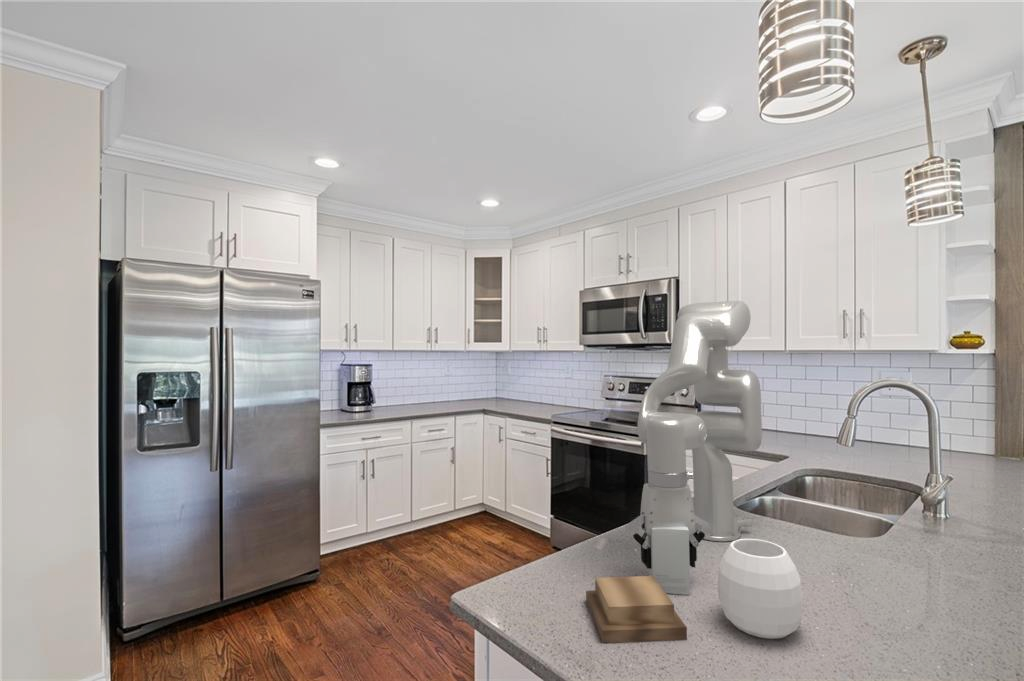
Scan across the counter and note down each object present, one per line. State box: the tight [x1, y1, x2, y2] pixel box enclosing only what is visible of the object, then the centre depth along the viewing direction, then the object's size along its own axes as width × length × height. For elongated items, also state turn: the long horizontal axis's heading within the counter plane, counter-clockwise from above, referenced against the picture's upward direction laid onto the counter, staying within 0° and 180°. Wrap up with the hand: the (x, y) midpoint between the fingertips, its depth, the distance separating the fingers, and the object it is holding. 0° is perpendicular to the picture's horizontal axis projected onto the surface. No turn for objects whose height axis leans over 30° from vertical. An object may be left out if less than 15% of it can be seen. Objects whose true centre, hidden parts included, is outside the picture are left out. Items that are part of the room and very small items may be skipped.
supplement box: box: [649, 527, 691, 596], centre depth 102 cm, size 7×7×13 cm
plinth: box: [585, 575, 688, 644], centre depth 90 cm, size 14×14×5 cm
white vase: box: [717, 538, 804, 640], centre depth 87 cm, size 13×13×14 cm
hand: (668, 565), depth 102 cm, fingers closed on supplement box, 8 cm apart
